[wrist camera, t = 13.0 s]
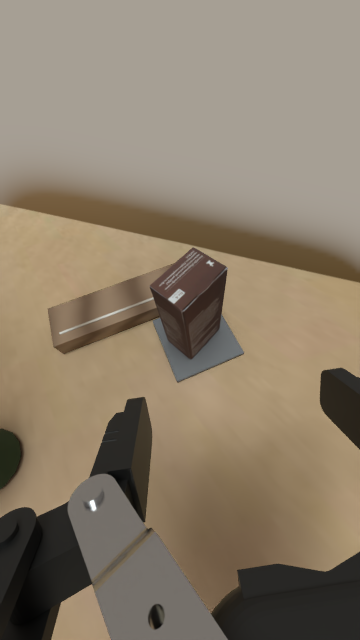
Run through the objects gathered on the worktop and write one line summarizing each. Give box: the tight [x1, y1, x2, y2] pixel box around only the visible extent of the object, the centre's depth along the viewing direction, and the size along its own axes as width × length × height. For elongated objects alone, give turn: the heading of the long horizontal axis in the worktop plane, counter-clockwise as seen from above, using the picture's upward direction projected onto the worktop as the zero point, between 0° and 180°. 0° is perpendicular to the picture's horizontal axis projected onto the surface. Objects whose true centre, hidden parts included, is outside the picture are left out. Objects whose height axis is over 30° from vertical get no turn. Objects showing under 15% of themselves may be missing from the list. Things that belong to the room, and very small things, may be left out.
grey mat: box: [153, 314, 244, 382], centre depth 30 cm, size 9×9×1 cm
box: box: [150, 248, 228, 359], centre depth 25 cm, size 6×4×12 cm
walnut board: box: [48, 263, 175, 354], centre depth 32 cm, size 22×6×3 cm, turn 112°
